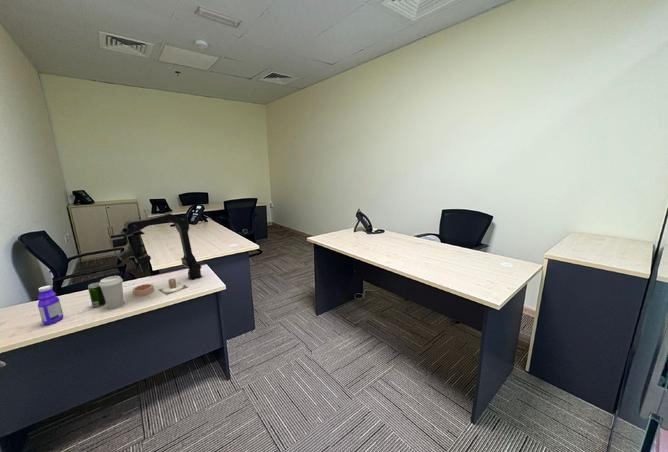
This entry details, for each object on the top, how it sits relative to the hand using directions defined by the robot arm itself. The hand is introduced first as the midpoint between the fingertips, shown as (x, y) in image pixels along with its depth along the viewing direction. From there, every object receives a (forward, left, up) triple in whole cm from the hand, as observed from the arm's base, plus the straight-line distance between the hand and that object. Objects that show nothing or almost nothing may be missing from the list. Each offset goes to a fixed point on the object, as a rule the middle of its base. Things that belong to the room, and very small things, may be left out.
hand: (140, 270), depth 146 cm
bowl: (0, -3, -15) cm, 15 cm away
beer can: (+19, -7, -15) cm, 25 cm away
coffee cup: (+14, +1, -15) cm, 20 cm away
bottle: (+36, -6, -15) cm, 39 cm away
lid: (-12, +6, -14) cm, 20 cm away
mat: (-12, +6, -15) cm, 20 cm away
